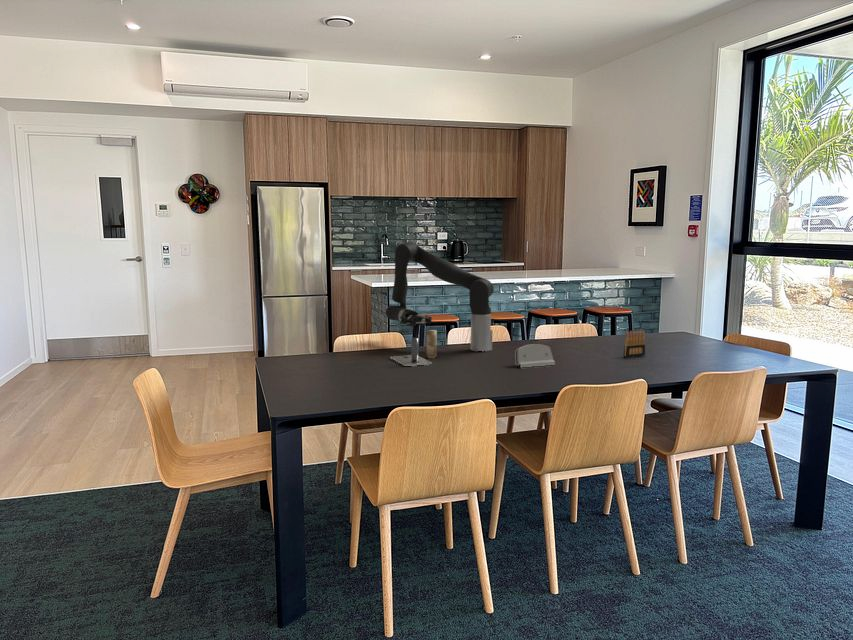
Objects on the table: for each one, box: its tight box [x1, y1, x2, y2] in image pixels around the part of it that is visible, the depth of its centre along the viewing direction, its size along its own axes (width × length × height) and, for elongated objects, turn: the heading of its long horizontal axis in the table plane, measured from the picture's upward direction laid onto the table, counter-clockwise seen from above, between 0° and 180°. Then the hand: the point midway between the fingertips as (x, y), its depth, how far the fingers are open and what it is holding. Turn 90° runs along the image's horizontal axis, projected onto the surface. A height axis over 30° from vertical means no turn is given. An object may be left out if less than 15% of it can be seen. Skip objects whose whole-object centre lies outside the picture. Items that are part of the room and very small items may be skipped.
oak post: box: [426, 329, 438, 359], centre depth 274 cm, size 4×4×12 cm
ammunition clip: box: [623, 328, 646, 358], centre depth 278 cm, size 11×2×12 cm, turn 113°
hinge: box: [514, 343, 556, 369], centre depth 260 cm, size 17×5×10 cm, turn 110°
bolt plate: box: [390, 337, 433, 367], centre depth 265 cm, size 12×18×11 cm, turn 23°
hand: (421, 321), depth 284 cm, fingers open, 8 cm apart
